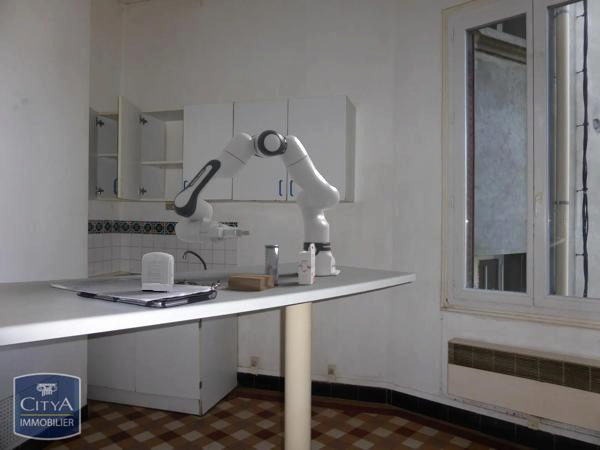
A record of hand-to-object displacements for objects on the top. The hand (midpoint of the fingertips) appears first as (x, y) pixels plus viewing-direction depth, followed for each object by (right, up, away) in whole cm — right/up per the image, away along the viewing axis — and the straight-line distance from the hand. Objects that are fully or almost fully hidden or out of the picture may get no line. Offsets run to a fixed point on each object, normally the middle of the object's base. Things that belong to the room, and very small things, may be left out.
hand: (242, 233), depth 164 cm
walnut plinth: (+5, -18, -19) cm, 27 cm away
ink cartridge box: (+24, -19, -4) cm, 31 cm away
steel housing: (+11, -18, -5) cm, 22 cm away
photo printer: (-23, -18, -28) cm, 41 cm away
